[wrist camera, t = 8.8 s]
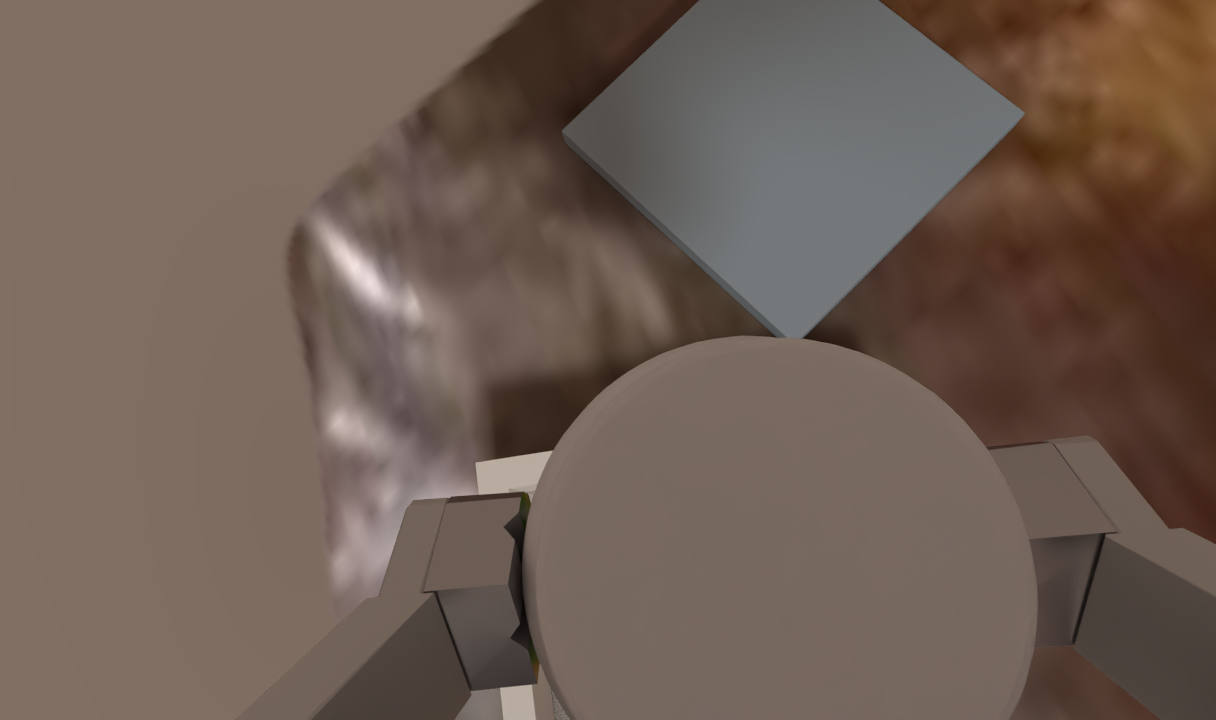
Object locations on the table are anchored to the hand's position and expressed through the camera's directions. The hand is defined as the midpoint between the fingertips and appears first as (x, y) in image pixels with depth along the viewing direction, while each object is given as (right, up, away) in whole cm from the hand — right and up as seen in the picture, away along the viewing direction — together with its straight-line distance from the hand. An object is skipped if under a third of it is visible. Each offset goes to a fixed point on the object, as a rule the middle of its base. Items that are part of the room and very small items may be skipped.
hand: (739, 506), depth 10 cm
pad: (+5, +11, +20) cm, 24 cm away
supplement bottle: (+1, -2, +6) cm, 6 cm away
